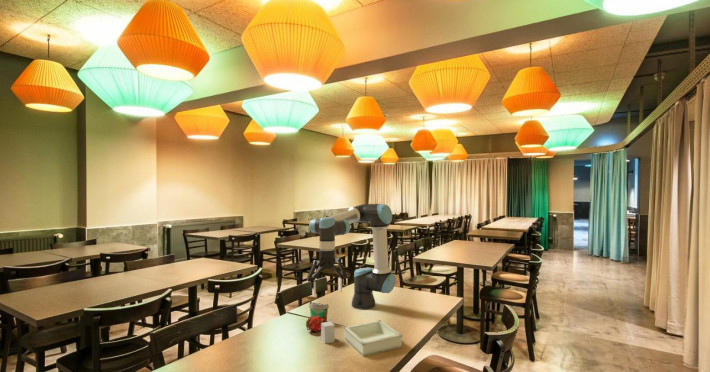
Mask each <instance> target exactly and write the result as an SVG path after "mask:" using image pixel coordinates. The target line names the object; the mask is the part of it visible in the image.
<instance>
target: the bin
mask: <svg viewBox="0 0 710 372" xmlns="http://www.w3.org/2000/svg"><path fill="white" fill-rule="evenodd" d="M343 329H344V340H346V341H347V343H348V344H349V345H350V346H351V347H353V349H354V350H356V351H357V352H358V353H359V354H360V355H361V356H362V357H367V356H370V355H375V354H379V353H383V352H387V351H392V350H395V349H400V347H401V348H402V347H403V342H402V341H403V338H402V337H403V336H404V335H403V334H402V333H400V332H399V331H397V330H396V329H395V328H393V327H391V326H389V325H388V324H386V323H385V322H383V320H375V321H369V322H364V323H359V324H355V325H354V324H353V325H348V326H344V327H343Z"/></svg>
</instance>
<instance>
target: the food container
mask: <svg viewBox="0 0 710 372" xmlns="http://www.w3.org/2000/svg"><path fill="white" fill-rule="evenodd" d="M308 308H309V313H310V317H313V316H316V317H317V316H318V315H319V316H320V318H324V319H325V321H326V322H328V312H329V311H328V309H329V303H326V304H322V303H319V302H317V303H316V302H312V300H310V301H309V303H308Z"/></svg>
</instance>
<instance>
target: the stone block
mask: <svg viewBox="0 0 710 372" xmlns="http://www.w3.org/2000/svg"><path fill="white" fill-rule="evenodd" d="M335 328H336V327H335V324H334V323H333V322H332V320H331V321H327V322H324V323H321V331H320V340H321V341H322V342H323V343H324V344H329V343H334V342H335V338H336V337H335V334H336V333H335Z"/></svg>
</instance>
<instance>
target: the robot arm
mask: <svg viewBox="0 0 710 372" xmlns="http://www.w3.org/2000/svg"><path fill="white" fill-rule="evenodd" d="M392 219H393V212H392V209H391V207H390V206H389V205H387V204H383V203H364V204H363V203H362V204H359V205H356V206H353V207H349V208H348V210H345V211H342V212H339V213H336V214H333V215H329V216H326V217H321V218H314V219H311V221H310V222H309V225H308V226H309V227H308V228H309V231H310V232H311V233H313V234H318V235H319V242H318V243H319V253H318V254H319V259H318V260H315V259H314V260H313V261H312V265H311V268H310V270H309V272H308V274H307V277H306V280H307V281H308V282H310V284H309V285H310V286H309V287H310V289H311V291H312V292H311V294H312V296H313V297H315V296H316V294H317V293H316V291H317V289H316V288H317V287H316V286H317V285H316V279H318V276H319V275H320V274H321V272H322V271H323V270H328V269H329V270H331V269H333V270H334V272H335V273H336V274H337V275H338V278H337V279H338V283H337V284H338V290H337V291H338V292H339V293H342V292H343V285H344V279H345V278H346V277H348V274H347V272H346V270H345V268H344V265H343V264H342V259H341V258H340V257H337V258H336V251H335V248H336V243H335V242H336V239H335V237H338V236H344V235H347V234H349V232H350V231H351V224H357V223H367V224H368V223H369V228H370V229H372V247H373V262H374V264H373V266H374V267H373V268H372V267H363V268H361V267H360V268H357V269H355V270H354V273H353V274H354V275H353V283H354V285H353V289H354V290H353V292H354V293H353V296H352V299H351V306H352V308H354V309H358V310H366V309H367V310H369V309H373V308H375V307H376V299H375V296H374V294H373V292H378V293H382V294H389V293H391V292H392V291H393V290H394V288H395V285H396V276H395V274H393V273H392V269H391V268H390V267H389V253H388V251H389V250H388V233H387V229H388V228H389V226H390V224H391V222H393V221H392ZM335 263H337V266H338V268H337V266H336V265H335ZM318 265H319V266H318ZM317 266H318V268H317Z"/></svg>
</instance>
